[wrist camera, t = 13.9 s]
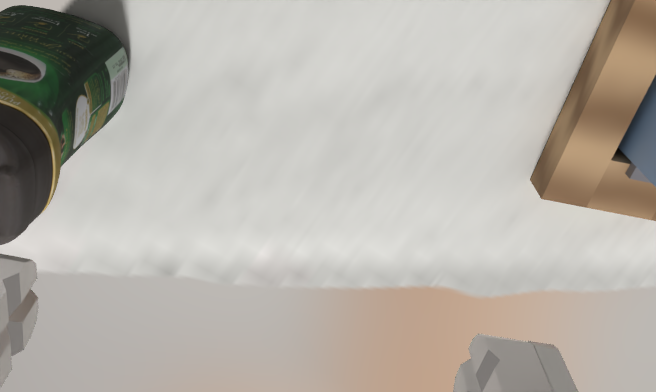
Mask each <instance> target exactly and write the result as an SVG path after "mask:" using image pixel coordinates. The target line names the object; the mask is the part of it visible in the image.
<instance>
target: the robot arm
mask: <svg viewBox="0 0 656 392" xmlns="http://www.w3.org/2000/svg"><path fill="white" fill-rule="evenodd" d="M36 279H37V269H36V263H35V262H34V261H33V260H30V259H25V258H20V257H15V256H9V255H4V254H0V388H1V387H2V385H3V383H4V382H5V380H6V378H7V377H8V375H9V373H10V372H11V370H12V362H11V356H13V355H15V354H17V353H18V352H20V351H22V350H24V348H25V346H26V345H27V343H28V341H29V339H30V338H31V335H32V332H33V329H34V327H35V324H36V320H37V313H38V297H37V296H36V295H35V293H34V292H33V291H32V290H31V287H32V285H33V284H34V282H35V281H36ZM469 352H470V355H471V359H469V360H468V361H466V362H465V363H463V364H461V366H460V368H459V370H458V373H457V375H456V377H455V384H454V390H453V392H578V390H577V388H576V386H575V384H574V382H573V379H572V377H571V375H570V373H569V371H568V369H567V367H566V364H565V362H564V360H563V358H562V356H561V354H560V352H559V350H558V349H557V348H556V347H555V346H554V345H551V344H544V343H537V342H531V341H528V342H526V341H521V340H515V339H508V338H502V337H496V336H489V335H483V334H478V335H476V336H475V337H474V338H473V340H472V342H471V344H470V346H469Z"/></svg>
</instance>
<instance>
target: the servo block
mask: <svg viewBox="0 0 656 392" xmlns="http://www.w3.org/2000/svg"><path fill="white" fill-rule="evenodd" d="M618 148H619V149H620V150H621V151H622V152H623V153H624V154H625V155H626V156H627V157H628V159H629V160H630V161H631V164H630V166H629V167H628V169H627V171H626V173H625V174H626V175H627V176H628V177H629V179H633V180H638V181H643V182H648V183H652V184H653V185H654V186H655V187H656V75H655V77H654V79H653V81H652V83H651V84H650V86H649V88H648V90H647V92H646V94H645V96H644V98H643V100H642V102H641V104H640V106H639V108H638V109H637V111H636V113H635V115H634V117H633V119H632V121H631V123H630V125H629V127H628V129H627V131H626V132H625V134H624V136H623V138H622V140H621V142H620V144H619V146H618Z"/></svg>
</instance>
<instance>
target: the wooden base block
mask: <svg viewBox="0 0 656 392" xmlns="http://www.w3.org/2000/svg"><path fill="white" fill-rule="evenodd" d="M655 75H656V0H611V2H610V4H609V6H608V8H607V10H606V13H605V15H604V17H603V19H602V22H601V24H600V26H599V28H598V30H597V33H596V35H595V37H594V39H593V42H592V44H591V46H590V48H589V50H588V53H587V55H586V57H585V59H584V61H583V64H582V66H581V68H580V70H579V73H578V75H577V77H576V79H575V81H574V84H573V86H572V88H571V90H570V93H569V95H568V97H567V99H566V101H565V104H564V106H563V108H562V110H561V112H560V115H559V117H558V119H557V121H556V124H555V126H554V128H553V130H552V132H551V135H550V137H549V139H548V141H547V144H546V146H545V148H544V150H543V152H542V155H541V157H540V159H539V161H538V163H537V166H536V168H535V170H534V172H533V175H532V177H531V179H530V180H531V182H532V184H533V185H534V187H535V189H536V190H537V192H538V194H539V195H540V197H541V199H545V200H550V201H555V202H561V203H566V204H571V205H576V206H581V207H586V208H592V209H597V210H602V211H607V212H612V213H618V214H623V215H628V216H633V217H638V218H643V219H649V220H654V221H656V187H655V186H654V185H653V184H652V183H648V182H643V181H638V180H633V179H629V177H628V176H627V175H626V174H625V173H626V171H627V169H628V167H629V166H630V164H631V161H630V160H629V159H628V157H627V156H626V155H625V154H624V153H623V152H622V151H621V150H620V149H619V148H618V146H619V144H620V142H621V140H622V138H623V136H624V134H625V132H626V131H627V129H628V127H629V125H630V123H631V121H632V119H633V117H634V115H635V113H636V111H637V109H638V108H639V106H640V104H641V102H642V100H643V98H644V96H645V94H646V92H647V90H648V88H649V86H650V84H651V83H652V81H653V79H654V77H655Z"/></svg>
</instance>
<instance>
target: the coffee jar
mask: <svg viewBox="0 0 656 392" xmlns="http://www.w3.org/2000/svg"><path fill="white" fill-rule="evenodd" d="M127 83H128V58H127V54H126V51H125V49H124V47H123V45H122V43H121V42H120V41H119V39H118V38H117V37H116V36H115V35H114V34H113V33H112V32H110V31H109V30H107V29H106V28H104V27H102V26H99V25H97V24H95V23H92V22H90V21H87V20H84V19H82V18H79V17H76V16H73V15H69V14H65V13H62V12H58V11H54V10H50V9H45V8H39V7H33V6H25V5H19V6H12V7H9V8H7V9H5V10H3V11H1V12H0V245H2V244H6V243H8V242H11V241H12V240H14V239H15V238H16V237H18V236H19V235H20V234H21V233H22V232H24V231H25V230H26V228H27V227H28V225H29V224H30V223H31V222H32V221H34V219H35V218H36V217H37V216H39V215H40V214H41V213H42V212H43V211H44V210H45V209H46V208H47V206H48V205H49V203H50V201H51V199H52V197H53V195H54V192H55V190H56V186H57V183H58V179H59V174H60V168H61V166H62V165H63V164H64V163H65V162H66V161H67V160H68V159H69V158H70V157H71V156H72V155H73V154H74V153H75V152H76V151H77V150H78V149H79V148H80V147H81V146H82V145H83V144H84V143H85V142H86V141H88V140H89V139H90V138H91V137H92V136H93V135H94V134H96V133H97V132H98V131H99V130H100V129H101V128H102V127H103V126H105V125H106V124H107V123H108V122H109V121H110V119H111V118H112V117H113V116H114V115H115V114H116V113H117V111H118V110H119V109H120V107H121V105H122V103H123V100H124V96H125V92H126V88H127Z"/></svg>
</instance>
